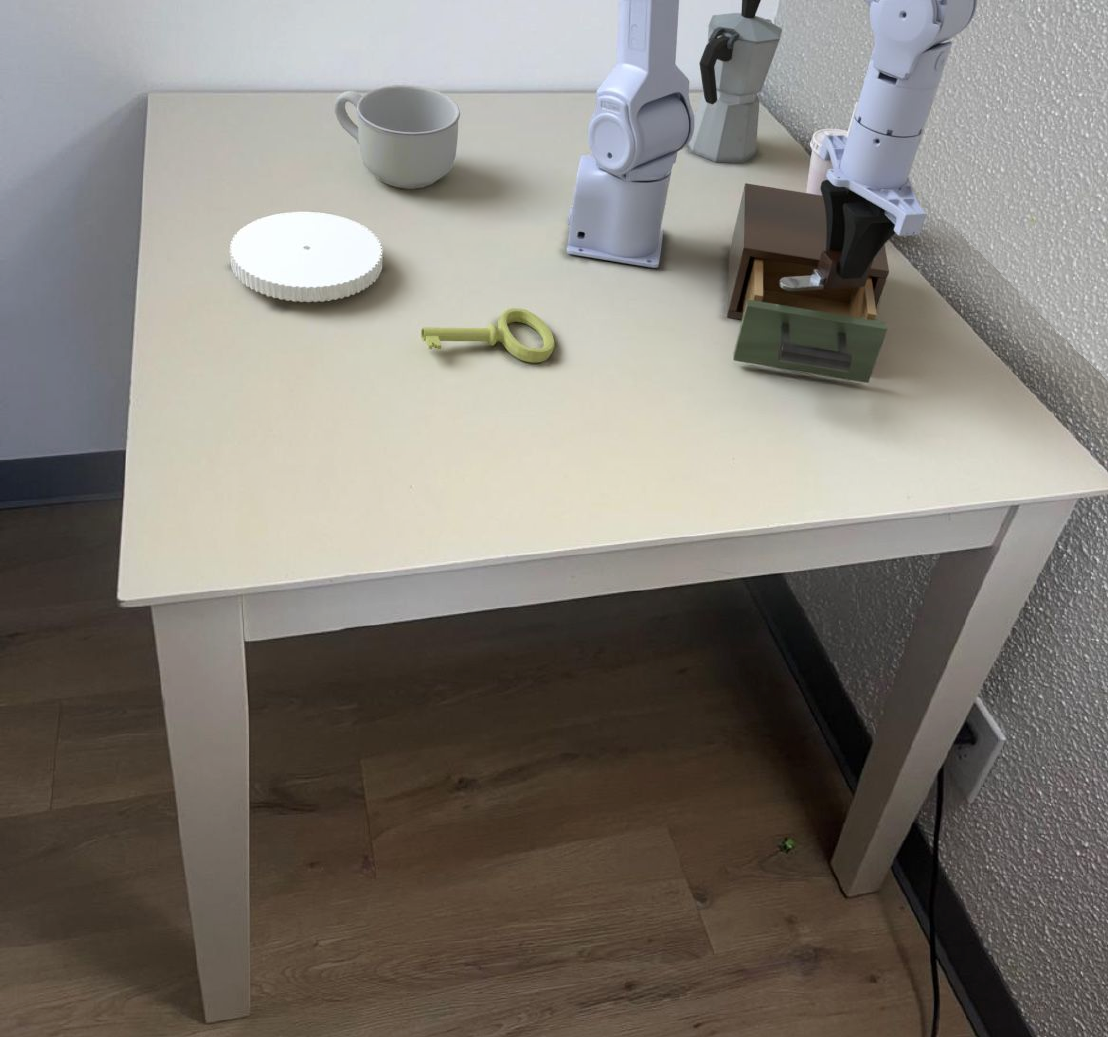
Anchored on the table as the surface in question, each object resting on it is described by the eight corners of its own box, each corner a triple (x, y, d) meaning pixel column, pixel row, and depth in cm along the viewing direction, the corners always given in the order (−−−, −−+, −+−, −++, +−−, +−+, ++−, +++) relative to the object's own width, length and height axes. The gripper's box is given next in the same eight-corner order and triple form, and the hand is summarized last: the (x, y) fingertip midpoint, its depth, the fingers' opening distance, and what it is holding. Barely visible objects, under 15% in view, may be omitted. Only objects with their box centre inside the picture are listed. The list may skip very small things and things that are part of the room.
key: (413, 347, 104) (413, 327, 102) (526, 314, 110) (529, 295, 108) (456, 390, 100) (457, 370, 98) (571, 354, 106) (574, 334, 104)
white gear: (221, 240, 114) (219, 216, 112) (363, 229, 118) (363, 206, 117) (244, 318, 104) (242, 294, 103) (397, 303, 109) (398, 280, 107)
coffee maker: (715, 120, 148) (746, -29, 136) (775, 144, 145) (813, -7, 133) (652, 155, 138) (679, -2, 126) (716, 182, 135) (750, 23, 123)
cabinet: (865, 340, 113) (889, 271, 108) (726, 317, 113) (743, 247, 108) (857, 270, 123) (878, 204, 118) (729, 249, 123) (745, 182, 118)
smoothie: (846, 242, 127) (884, 118, 118) (788, 231, 128) (821, 107, 119) (847, 216, 132) (884, 95, 123) (791, 205, 133) (823, 84, 123)
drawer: (872, 415, 102) (892, 360, 98) (732, 392, 102) (746, 336, 99) (859, 311, 115) (877, 259, 111) (735, 290, 116) (748, 237, 112)
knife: (854, 275, 107) (863, 248, 105) (865, 286, 105) (874, 259, 104) (775, 280, 105) (782, 253, 103) (784, 292, 103) (792, 264, 101)
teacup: (475, 176, 130) (480, 106, 124) (415, 210, 122) (417, 137, 117) (376, 136, 134) (377, 67, 129) (313, 167, 127) (310, 94, 122)
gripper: (806, 86, 99) (769, 230, 108) (889, 164, 89) (841, 315, 99) (878, 85, 101) (836, 226, 111) (968, 161, 91) (913, 310, 101)
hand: (843, 268), depth 105 cm, fingers closed on knife, 2 cm apart
